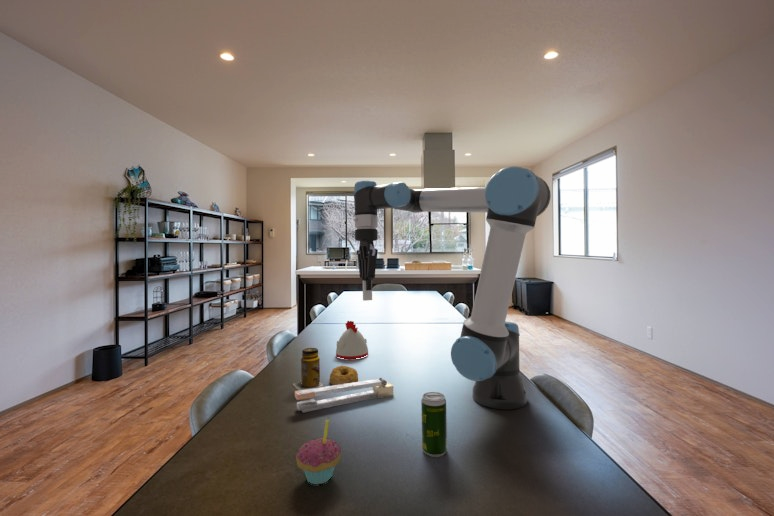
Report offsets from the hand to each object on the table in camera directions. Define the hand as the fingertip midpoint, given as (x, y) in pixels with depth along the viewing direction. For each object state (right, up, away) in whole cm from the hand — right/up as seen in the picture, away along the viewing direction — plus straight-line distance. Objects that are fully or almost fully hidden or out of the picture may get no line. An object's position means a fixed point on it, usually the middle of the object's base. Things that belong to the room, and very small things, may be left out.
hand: (367, 300), depth 117 cm
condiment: (-20, -29, +2) cm, 35 cm away
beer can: (+17, -28, -40) cm, 52 cm away
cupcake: (-7, -29, -48) cm, 57 cm away
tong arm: (-7, -25, -13) cm, 29 cm away
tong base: (-6, -29, -13) cm, 32 cm away
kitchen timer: (-9, -29, +37) cm, 47 cm away
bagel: (-8, -29, +4) cm, 30 cm away
